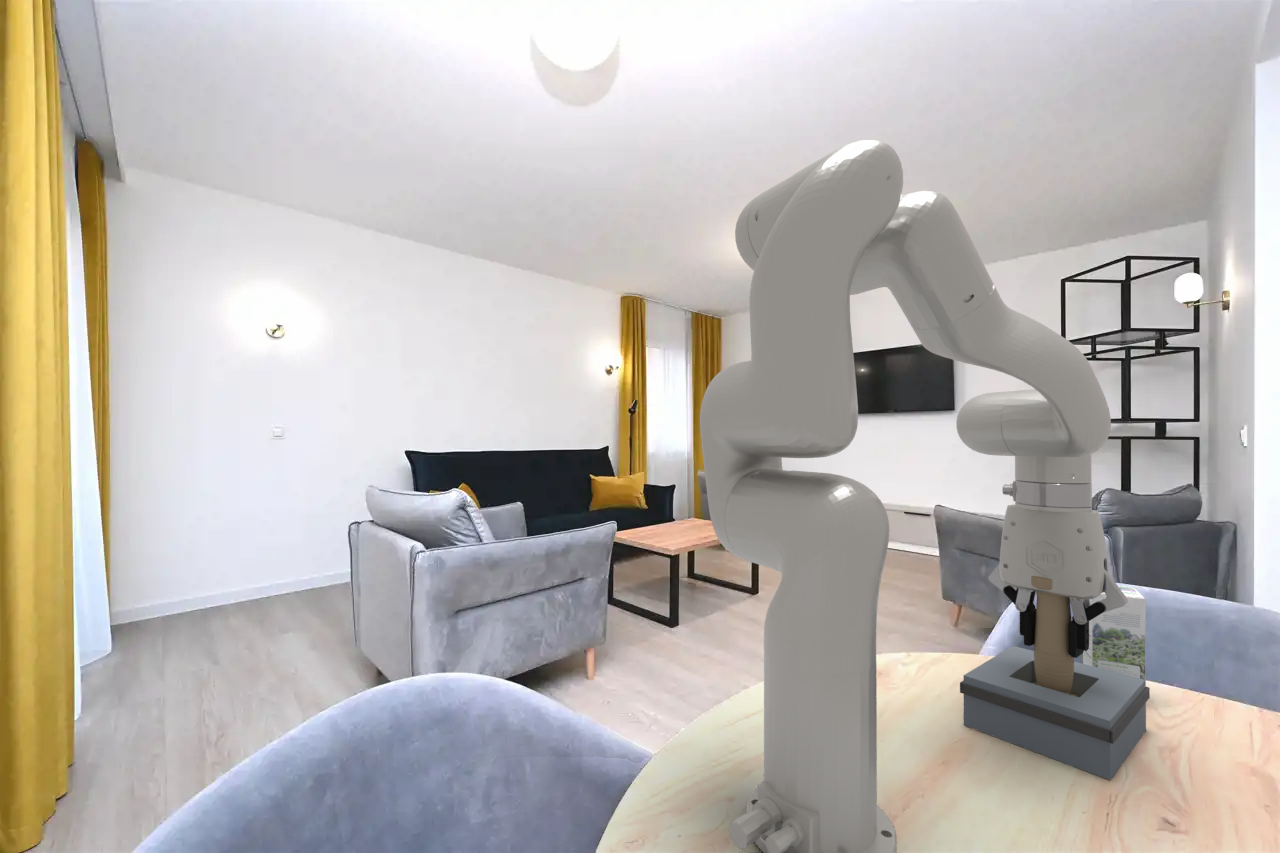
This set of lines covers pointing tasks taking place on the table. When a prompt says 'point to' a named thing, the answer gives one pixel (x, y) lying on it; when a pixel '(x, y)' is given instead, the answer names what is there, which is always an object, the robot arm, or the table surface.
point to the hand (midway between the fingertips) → (1053, 647)
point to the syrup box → (1119, 637)
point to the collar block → (1058, 711)
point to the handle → (1052, 639)
